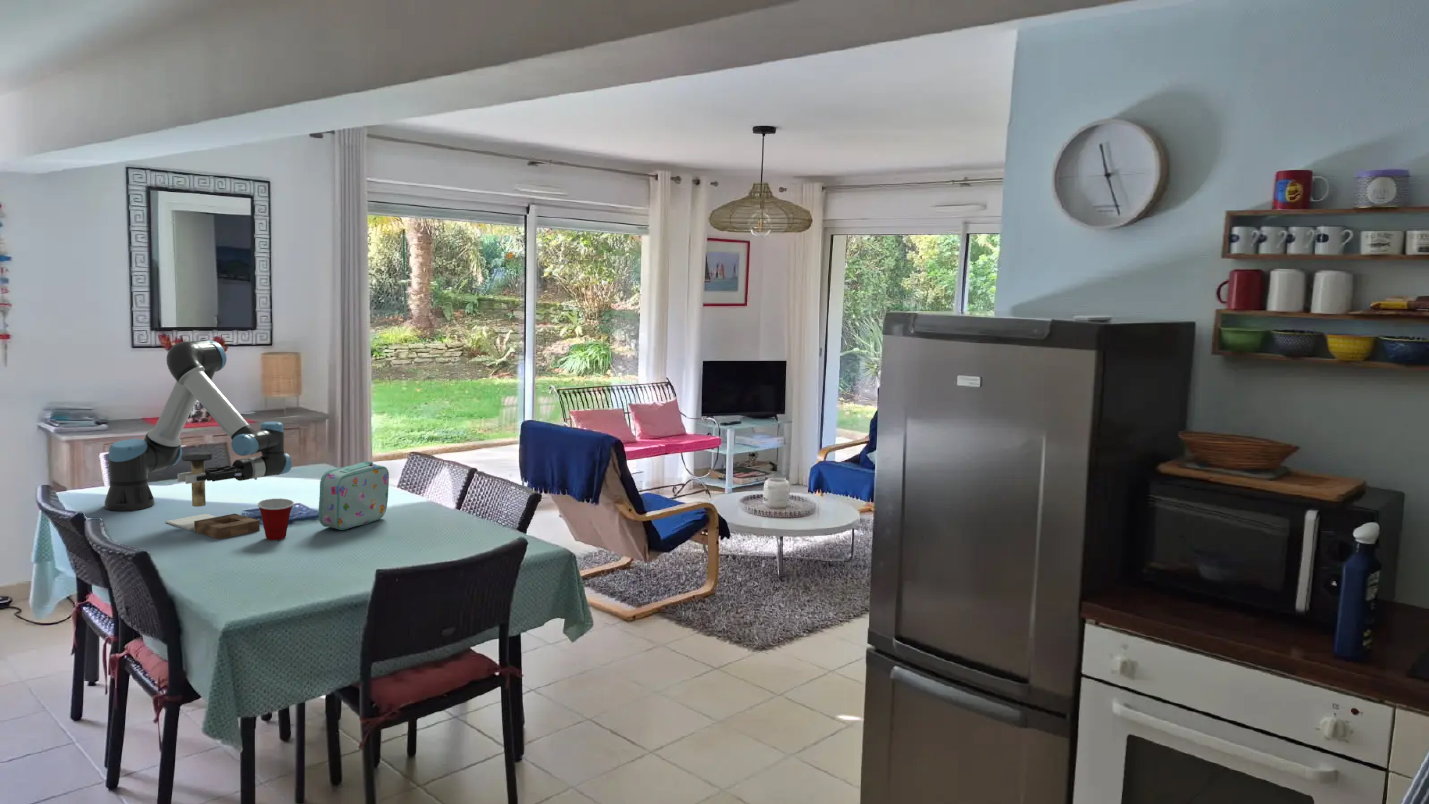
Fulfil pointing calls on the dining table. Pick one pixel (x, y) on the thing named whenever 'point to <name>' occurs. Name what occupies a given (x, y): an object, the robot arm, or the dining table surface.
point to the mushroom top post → (197, 468)
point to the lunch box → (353, 495)
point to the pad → (189, 521)
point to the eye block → (226, 526)
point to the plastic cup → (275, 517)
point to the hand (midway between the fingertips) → (182, 478)
